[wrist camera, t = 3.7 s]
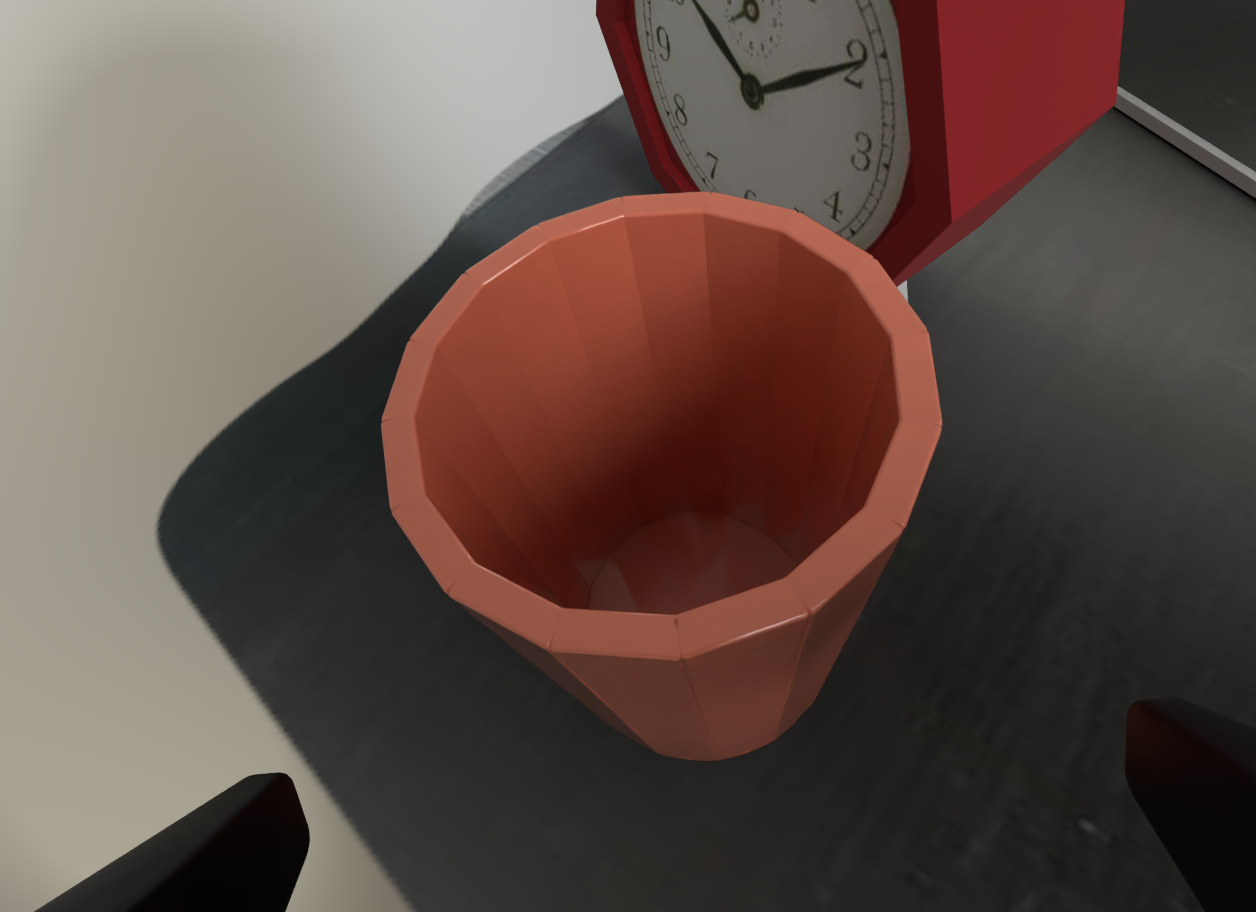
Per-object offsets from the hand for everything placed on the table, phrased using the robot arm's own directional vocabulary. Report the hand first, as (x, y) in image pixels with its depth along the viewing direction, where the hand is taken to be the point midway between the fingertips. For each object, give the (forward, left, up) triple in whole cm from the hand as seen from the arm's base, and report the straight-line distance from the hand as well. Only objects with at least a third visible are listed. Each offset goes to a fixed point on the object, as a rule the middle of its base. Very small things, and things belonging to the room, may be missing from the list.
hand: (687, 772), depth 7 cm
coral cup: (+5, +1, -11) cm, 12 cm away
